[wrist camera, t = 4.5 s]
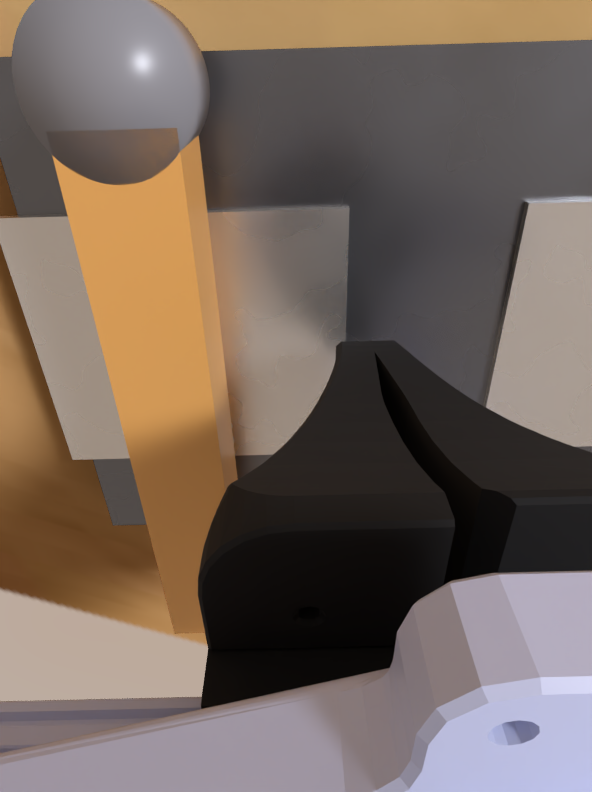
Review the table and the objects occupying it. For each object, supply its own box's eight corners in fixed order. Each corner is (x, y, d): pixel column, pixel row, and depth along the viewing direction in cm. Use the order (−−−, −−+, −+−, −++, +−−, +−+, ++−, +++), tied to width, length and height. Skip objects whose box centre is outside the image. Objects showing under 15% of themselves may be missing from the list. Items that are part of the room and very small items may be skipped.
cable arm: (44, -4, 9) (-15, -17, 7) (200, -9, 9) (179, -23, 7) (176, 576, 17) (164, 633, 15) (257, 574, 17) (254, 631, 15)
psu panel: (808, 481, 18) (871, 532, 16) (108, 500, 18) (87, 552, 16) (1134, 7, 11) (1314, -3, 9) (-31, 41, 11) (-98, 38, 9)
